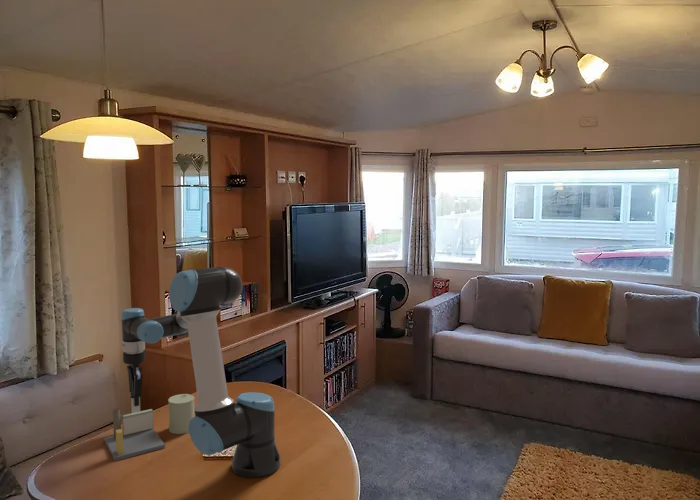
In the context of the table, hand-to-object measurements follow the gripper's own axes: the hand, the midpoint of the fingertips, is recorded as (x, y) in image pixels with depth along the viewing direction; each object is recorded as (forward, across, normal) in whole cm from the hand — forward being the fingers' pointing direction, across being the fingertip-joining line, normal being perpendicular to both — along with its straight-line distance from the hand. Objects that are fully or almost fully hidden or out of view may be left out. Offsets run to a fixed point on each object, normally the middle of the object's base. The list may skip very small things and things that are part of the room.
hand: (136, 413), depth 197 cm
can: (+6, +10, +14) cm, 18 cm away
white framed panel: (+4, +7, -1) cm, 8 cm away
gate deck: (+5, +13, -4) cm, 15 cm away
